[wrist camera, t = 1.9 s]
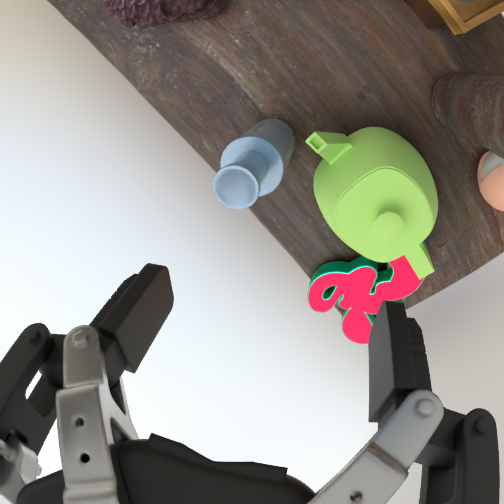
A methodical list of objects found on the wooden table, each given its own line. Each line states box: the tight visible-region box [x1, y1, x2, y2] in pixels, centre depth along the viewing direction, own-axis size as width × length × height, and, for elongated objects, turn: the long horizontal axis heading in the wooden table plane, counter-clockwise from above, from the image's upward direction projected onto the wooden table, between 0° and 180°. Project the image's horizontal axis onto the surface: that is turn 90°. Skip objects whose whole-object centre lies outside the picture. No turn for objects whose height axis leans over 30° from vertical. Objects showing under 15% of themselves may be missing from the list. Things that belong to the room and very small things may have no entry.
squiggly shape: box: [307, 241, 428, 344], centre depth 41 cm, size 20×16×2 cm
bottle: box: [213, 118, 296, 209], centre depth 29 cm, size 6×6×16 cm
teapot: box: [305, 127, 438, 280], centre depth 29 cm, size 20×13×13 cm
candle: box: [432, 73, 504, 159], centre depth 18 cm, size 8×7×20 cm
